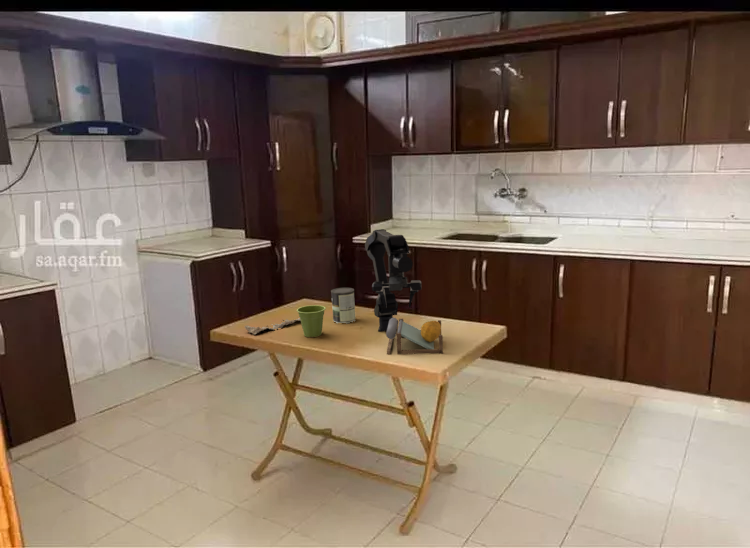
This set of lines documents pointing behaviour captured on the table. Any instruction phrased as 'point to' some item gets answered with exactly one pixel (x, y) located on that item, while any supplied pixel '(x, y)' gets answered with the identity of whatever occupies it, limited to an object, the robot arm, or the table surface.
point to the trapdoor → (407, 333)
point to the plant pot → (311, 319)
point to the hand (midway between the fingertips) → (397, 307)
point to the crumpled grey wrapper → (276, 326)
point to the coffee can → (343, 305)
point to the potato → (430, 330)
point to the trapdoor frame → (400, 351)
